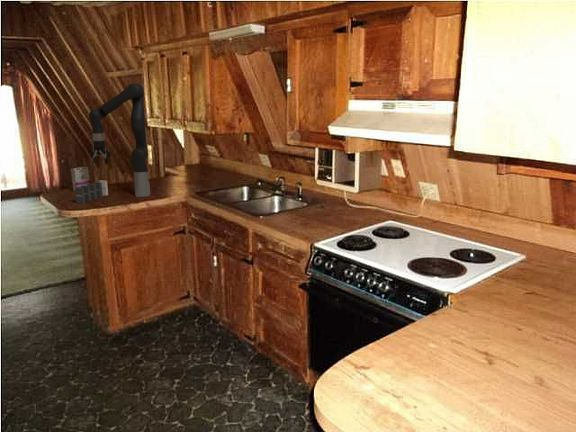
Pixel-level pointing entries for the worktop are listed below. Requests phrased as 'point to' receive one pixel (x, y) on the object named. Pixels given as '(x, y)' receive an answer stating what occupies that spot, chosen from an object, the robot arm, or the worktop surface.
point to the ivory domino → (104, 187)
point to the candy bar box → (80, 177)
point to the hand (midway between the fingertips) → (101, 163)
